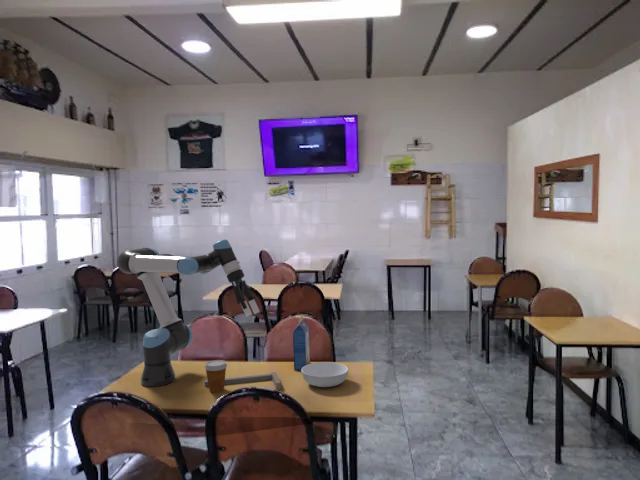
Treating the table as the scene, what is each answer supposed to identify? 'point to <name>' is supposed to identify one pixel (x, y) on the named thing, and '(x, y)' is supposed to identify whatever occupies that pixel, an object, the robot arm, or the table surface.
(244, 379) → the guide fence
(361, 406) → the table surface
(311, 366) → the serving bowl
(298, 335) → the blue food package
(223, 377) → the disposable coffee cup
